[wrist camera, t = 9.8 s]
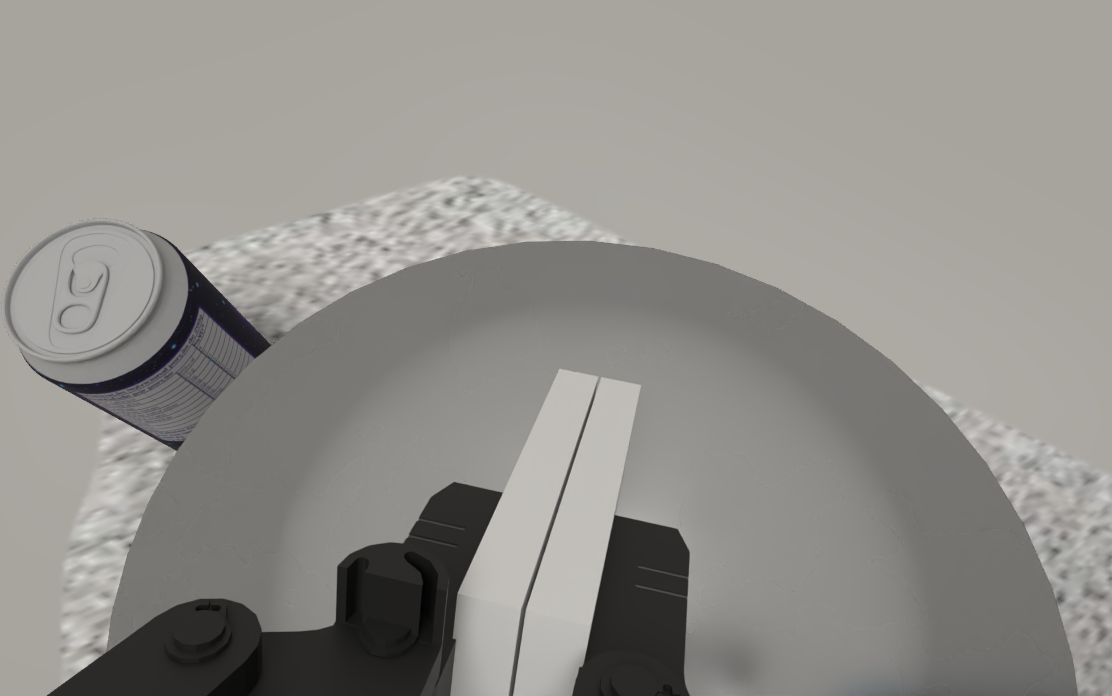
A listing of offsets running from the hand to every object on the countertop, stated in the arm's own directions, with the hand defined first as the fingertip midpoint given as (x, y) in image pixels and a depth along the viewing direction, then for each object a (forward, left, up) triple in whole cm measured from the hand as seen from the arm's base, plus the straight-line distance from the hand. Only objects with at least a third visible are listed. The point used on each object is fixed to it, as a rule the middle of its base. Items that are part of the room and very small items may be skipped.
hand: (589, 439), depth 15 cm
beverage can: (+17, -3, -18) cm, 25 cm away
